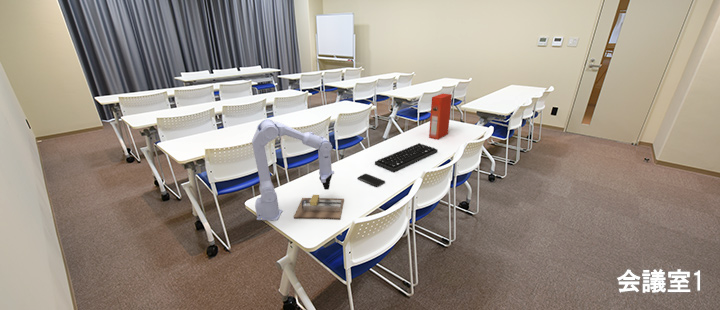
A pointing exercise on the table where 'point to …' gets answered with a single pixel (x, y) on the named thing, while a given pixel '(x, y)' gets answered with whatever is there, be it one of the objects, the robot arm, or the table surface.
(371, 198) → the table surface
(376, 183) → the phone
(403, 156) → the computer keyboard
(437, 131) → the file binder
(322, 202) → the bar
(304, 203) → the fixed tong arm
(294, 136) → the robot arm
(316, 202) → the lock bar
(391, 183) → the table surface
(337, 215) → the walnut board
